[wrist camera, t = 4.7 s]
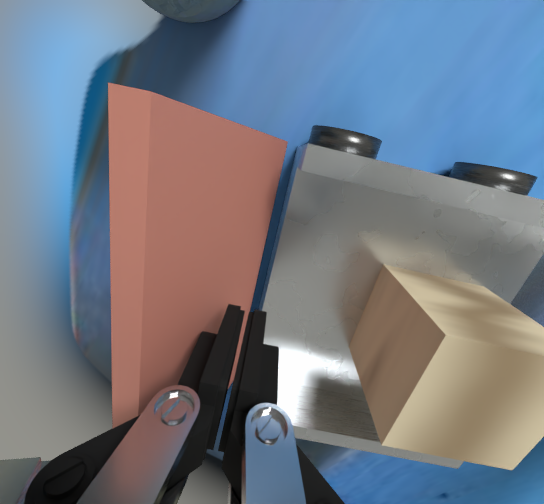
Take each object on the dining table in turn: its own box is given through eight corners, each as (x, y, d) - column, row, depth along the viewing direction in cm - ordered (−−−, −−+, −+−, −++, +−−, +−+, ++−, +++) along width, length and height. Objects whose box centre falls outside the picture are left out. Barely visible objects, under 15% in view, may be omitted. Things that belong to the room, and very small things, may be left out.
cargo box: (483, 286, 15) (606, 369, 9) (436, 365, 17) (512, 470, 11) (383, 264, 14) (445, 334, 9) (348, 346, 17) (381, 445, 11)
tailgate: (287, 141, 13) (151, 91, 5) (234, 378, 19) (133, 540, 10) (261, 135, 13) (92, 79, 5) (217, 370, 19) (106, 520, 11)
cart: (505, 176, 17) (675, 196, 10) (397, 377, 24) (449, 480, 16) (301, 127, 17) (317, 107, 9) (249, 347, 23) (233, 439, 16)
